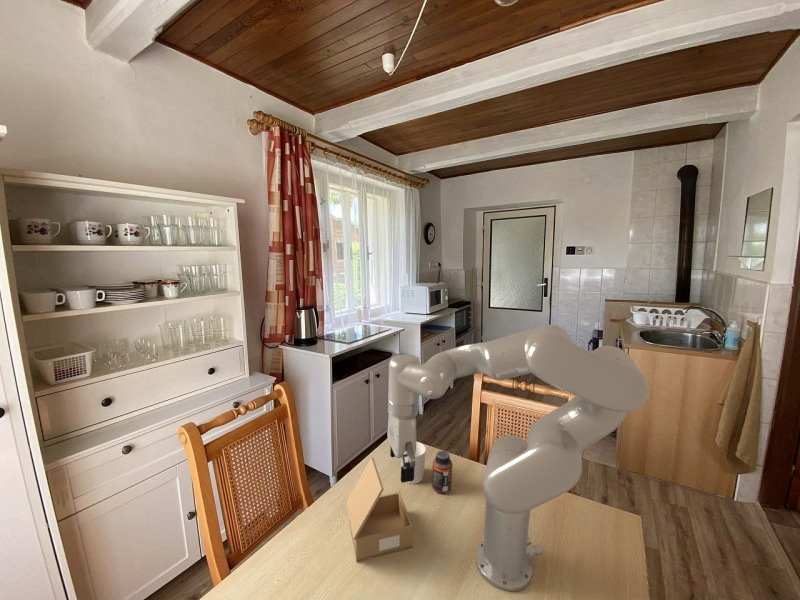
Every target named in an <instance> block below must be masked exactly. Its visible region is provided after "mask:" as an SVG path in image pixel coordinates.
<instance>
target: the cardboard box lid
mask: <svg viewBox="0 0 800 600" xmlns="http://www.w3.org/2000/svg"><path fill="white" fill-rule="evenodd" d="M384 490H385V489H384V486H383V483H382V480H381V477H380V474H379V471H378V467H377V465H376V462H375V459H374V458H373V457H371V458H370V459H369V461H368V463H367V465H366V466H365V468H364V470H363V472H362V474H361V475H360V477H359V478H358V481H357V482H356V484H355V486H354V487H353V489H352V491H351V493H350V495H349V496H348V498H347V500H346V507H347V513H348V520H349V519H350V522H349V526H350V525H351V528H350V532H351V531H352V534H351V537H352V536H353V539H354V540H356V538H357V536H358V534H359V533H360V531H361V529H362V527H363V525H364V524H365V522H366V520H367V518H368V517H369V515H370V513H371V511H372V510H373V508H374V506H375V504H376V503H377V501H378V499H379V497H380V496H381V495H383V494H382V493H383V492H384ZM353 539H352V540H353Z"/></svg>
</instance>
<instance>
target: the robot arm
mask: <svg viewBox="0 0 800 600" xmlns="http://www.w3.org/2000/svg"><path fill="white" fill-rule="evenodd" d="M478 374H479V375H481V374H482V375H486V376H489V378H491V379H493V380H495V381H498V382H499V381H505V380H509V379H513V378H516V377H520V376H524V375H528V374H533V375H534V376H536V377H537V378H538V379H540V380H542V382H544V383H546V384H549V385H551V386H552V387H555V388H557V389H558V390H561V391H563V392H565V393H567V394H570V395H572V396H574V397H573V398H570V400H569V401H567V402H565V403H564V404H562V405H561V406H559V407H557V408H556V409H554V410H552V411H550V412H549V413H547V414H545V415H544V416H542V417H540V418H539V419H536V420H535V421H534V422H533V423H532V424H531V425H530V428H529V430H528V435H527V442H526V441H525V440H524V439H523V438H521V437H519V436H517V435H513V434H506V435H502V436H499V438H497V439H495V441H494V442H493V443H492V445H491V448H490V450H489V453H488V458H487V461H486V467H485V471H484V476H483V481H482V484H483V485H482V487H483V493H484V496H485V514H484V528H483V540H482V541H481V542H480V543H479V544H478V546H477V547H476V551H475V563H476V566H477V569H478V571H479V573H480V574H481V575H482V577H483V578H484V579H485V580H486V581H487V582H488V583H490V584H491V585H492V586H495V587H496V588H499V589H500V590H503V591H513V592H515V591H520V590H522V589H525V587H527V586H528V585H529V584H530V582H531V578H532V575H533V566H532V561H531V560H532V559H533V557H535V556H536V557H537V556H540V555H543V554H544V549H543V548H544V547H543V546H542V545H541V544H540V543H539V544H534V545H532V544H533V543H532V539H531V538H530V537H529V528H530V527H529V526H530V515H531V510H532V509H534V508H537V507H539V506H541V505H543V504H545V503H548V502H550V501H551V500H554V499H555V498H556V499H557V497H560V496H562V495H564V494H566V493H567V492H569V491H570V490H572V489H573V488H574V486H576V485H577V483H578V482H579V480H580V479H581V476H582V474H583V460H582V452H583V451H584V450H585V449H586V448H587V449H588V448H589V447H591V446H592V445H593V444H595V443H597V442H598V441H600V440H601V439H603V438H605V437H606V436H608V435H609V434H611V433H612V432H614V431H615V430H616V429H617V428H618V427H620V424H621V423H623V421H624V419H625V418H626V416H627V414H628V413H630V412H634V411H636V410H639V409H640V408H641V407H643V405H644V404H645V403H646V402H647V399H648V398H649V393H650V391H649V390H650V389H649V384H648V381H647V379H646V378H645V375H644V374H643V372H642V371H641V370H640V368H639V367H638V366H637V363H635V362H634V360H633V359H632V358H631V356H630V355H629V354H628V353H627V352H626V351H624V350H623V349H622V348H620V347H616V346H614V345H602V346H599V347H597V348H596V349H595V348H594V350H592V351H590V350H588V349H586V348H584V347H583V348H582V347H581V346H579V345H577V344H575V343H574V342H573V340H572V338H571V336H570V334H569V333H568V332H567V331H566V330H565V329H564V328H562V327H560V325H559V326H558V325H555V324H545V325H541V326H536V327H533V328H529V329H526V330H523V331H518V332H517V333H514V334H510V335H507V336H502V337H499V338H497V339H494V340H490V341H485V342H478V343H469V344H464V345H461V346H460V345H459V346H457V347H454V348H451V349H447V350H444V351H441V352H438V353H436V354H434V355H432V356H431V357H430V358H429V359H428V360H427V361H426V362H424V363H423V364H421V362H420V359H418V357H416V356H415V355H411V354H397V355H394V356H393V357H391V358H390V359H389V363H388V388H387V389H388V393H387V395H388V396H387V398H388V400H387V413H388V420H387V422H388V423H387V431H386V432H387V435H386V436H387V440H388V443H389V445H390V452H389V454H390V457H391V458H397V459H400V460H401V459H402V466H401V467H400V482H401V483H407V482H409V481H413V480H414V468H415V462H416V458H415V453H416V442H417V420H416V419H417V417H416V416H418V414H419V410H420V409H419V405H420V397H422V398H426V399H431V400H436V399H439V398H441V397H442V396H444V395H445V393H446V392H447V390H448V388H449V387H450V385H451V384H452V382H453V381H454V380H457V379H459V378H463V377H467V376H471V375H478ZM405 451H407V454H404V452H405ZM405 457H409V460H408V461H409V462H406V463H405ZM531 545H532V546H531Z"/></svg>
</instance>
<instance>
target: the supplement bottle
mask: <svg viewBox="0 0 800 600" xmlns="http://www.w3.org/2000/svg"><path fill="white" fill-rule="evenodd" d="M450 457H451V456H450V453H449V452H447V451H445V450H438V451H437V452H436V456H435V458H433V460H432V471H431V472H432V474H431V476H432V477H431V487H432V489H433V491H434V492H436V493H437V494H441V495H442V494H443V495H444V494H447V493H449V492H451V490H452V484H453V483H452V480H453V479H452V478H453V477H452V476H453V461H452V459H450Z"/></svg>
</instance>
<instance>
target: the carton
mask: <svg viewBox="0 0 800 600" xmlns="http://www.w3.org/2000/svg"><path fill="white" fill-rule="evenodd" d="M408 512H409V511H408V510H407V507H406V505H405V502H404V499H403V497H402V495H401V492H400V491H397V492H390V493H386V494H381V495H380V497H379V499H378V501H377V503H376V504H375V506H374V508H373V510H372V511H371V513H370V515H369V517H368V518H367V520H366V522H365V524H364V525H363V527H362V529H361V531H360V533H359V534H358V536H357V538H356V540H354V539H353V536H352V531H351V530H350V533H351V538H352V544H353V550H354V556H355V560H356V563H357V562H361V561H366V560H370V559H372V558H377V557H380V556H384V555H388V554H394V553H396V552H400V551H404V550H407V549H412V548H414V525H413V522H412V520H411V517H410V514H409V513H408ZM348 522H349V523H350V519H349V518H348ZM349 528H350V529H351V525H350V524H349Z"/></svg>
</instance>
